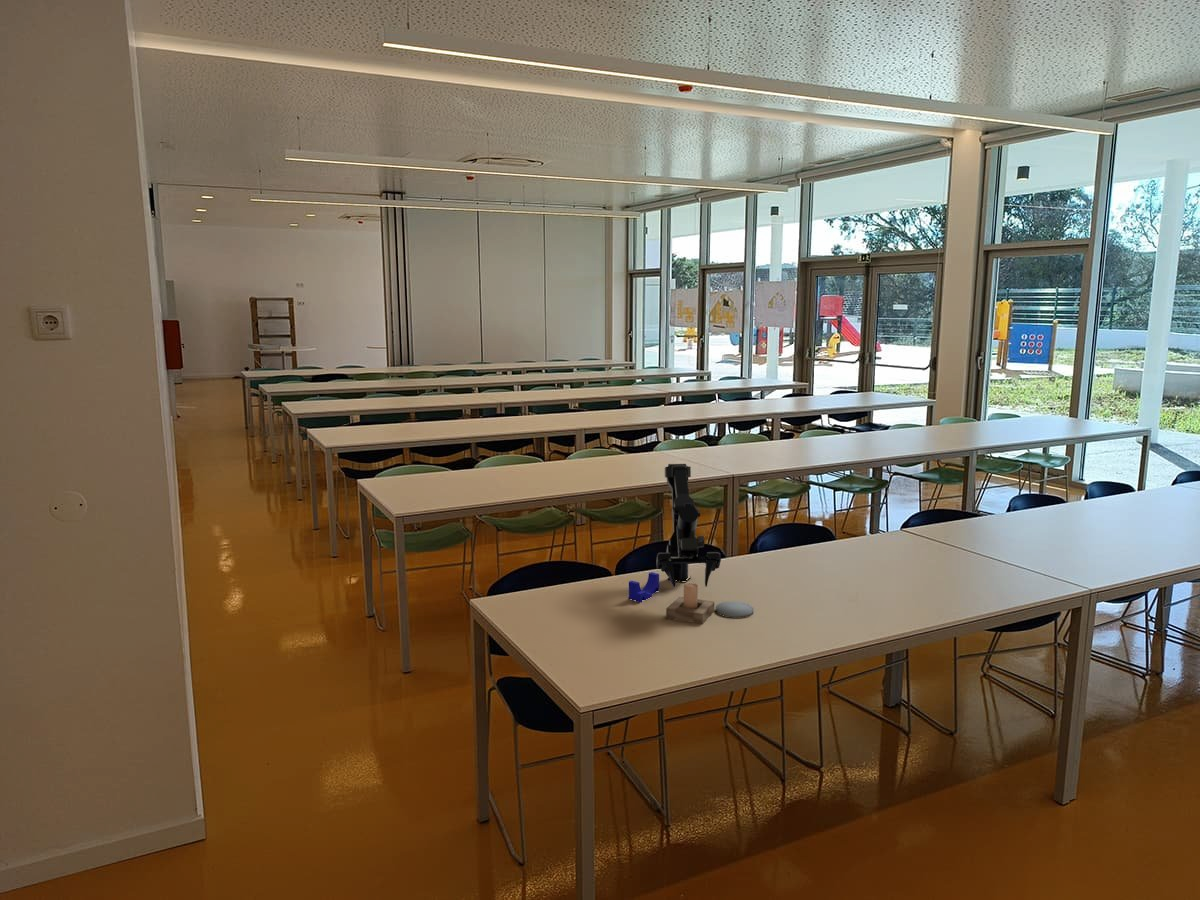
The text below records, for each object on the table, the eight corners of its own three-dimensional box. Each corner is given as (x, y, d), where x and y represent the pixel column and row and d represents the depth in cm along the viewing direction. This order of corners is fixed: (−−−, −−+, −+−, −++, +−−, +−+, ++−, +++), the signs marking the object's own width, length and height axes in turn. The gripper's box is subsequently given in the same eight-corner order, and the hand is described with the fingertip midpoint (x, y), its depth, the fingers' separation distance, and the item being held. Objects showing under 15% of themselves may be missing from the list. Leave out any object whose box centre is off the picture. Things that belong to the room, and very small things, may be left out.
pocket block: (678, 606, 245) (679, 596, 245) (714, 611, 241) (714, 601, 240) (666, 618, 235) (666, 608, 235) (702, 623, 231) (702, 613, 230)
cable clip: (640, 603, 249) (640, 584, 248) (628, 600, 251) (628, 581, 250) (663, 593, 258) (663, 574, 257) (651, 590, 261) (651, 572, 260)
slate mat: (721, 602, 248) (722, 599, 248) (757, 607, 243) (757, 604, 243) (711, 614, 238) (711, 611, 238) (748, 620, 233) (748, 616, 233)
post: (686, 611, 241) (686, 582, 239) (699, 613, 239) (699, 584, 238) (681, 616, 237) (681, 586, 236) (694, 618, 235) (695, 588, 234)
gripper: (657, 526, 240) (659, 573, 231) (720, 525, 240) (725, 573, 231) (655, 545, 249) (657, 591, 240) (716, 544, 249) (721, 590, 240)
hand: (690, 586), depth 237 cm, fingers open, 9 cm apart
